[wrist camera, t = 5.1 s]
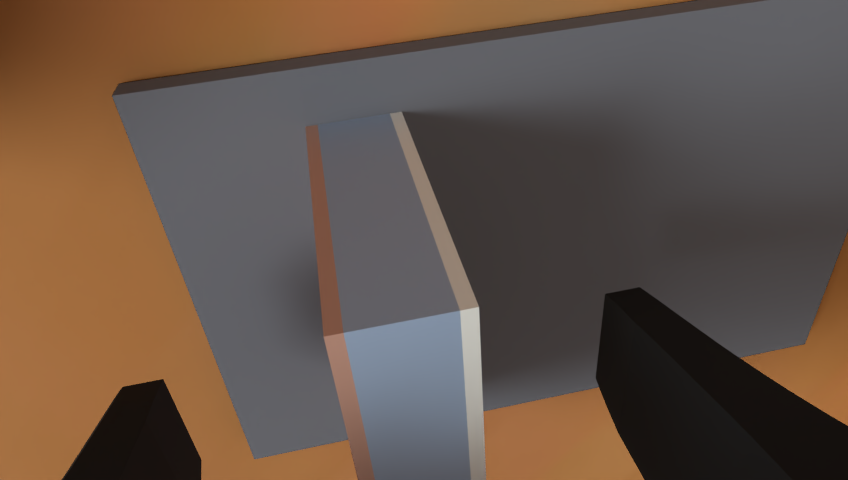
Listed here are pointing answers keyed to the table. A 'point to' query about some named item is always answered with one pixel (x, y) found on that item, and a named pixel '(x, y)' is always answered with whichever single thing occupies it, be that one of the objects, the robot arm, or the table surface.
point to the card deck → (394, 306)
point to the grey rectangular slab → (520, 189)
